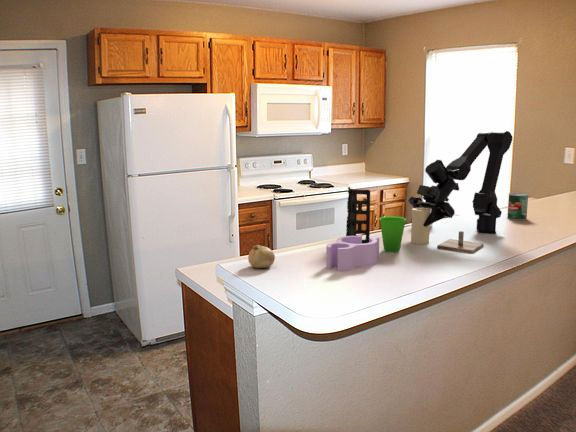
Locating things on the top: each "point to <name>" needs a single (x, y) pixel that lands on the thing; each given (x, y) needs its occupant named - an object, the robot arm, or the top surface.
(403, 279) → the top surface
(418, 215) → the paper roll
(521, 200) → the canned tomato
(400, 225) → the cup
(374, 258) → the clip
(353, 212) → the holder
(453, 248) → the roll stand
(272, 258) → the onion
